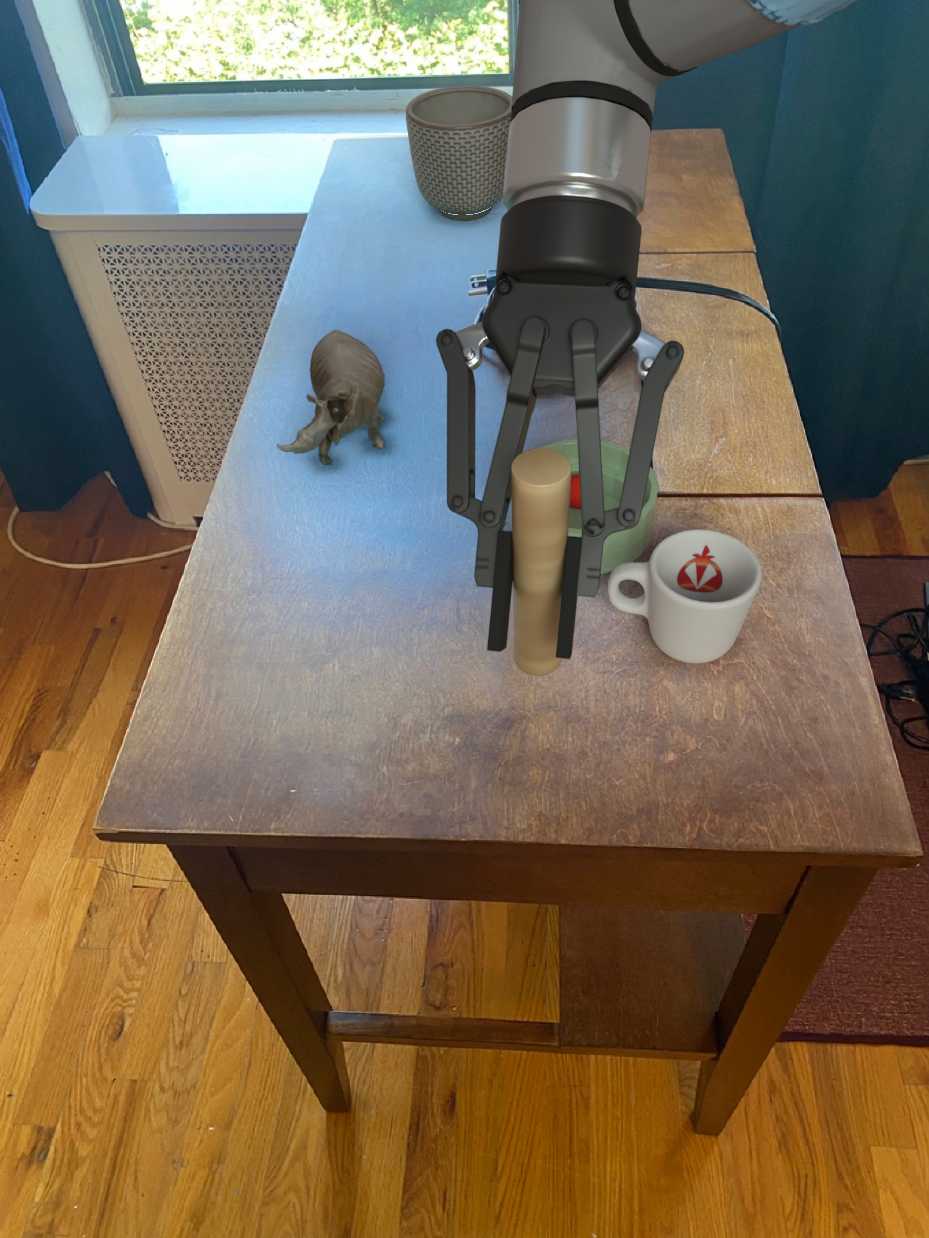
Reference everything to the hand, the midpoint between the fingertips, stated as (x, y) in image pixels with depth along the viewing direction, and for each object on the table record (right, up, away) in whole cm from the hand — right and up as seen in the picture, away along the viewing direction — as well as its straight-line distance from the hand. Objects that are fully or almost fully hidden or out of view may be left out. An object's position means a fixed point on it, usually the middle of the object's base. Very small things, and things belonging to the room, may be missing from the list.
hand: (530, 651), depth 50 cm
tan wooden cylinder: (+1, -1, +6) cm, 6 cm away
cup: (+13, 0, +22) cm, 25 cm away
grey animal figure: (-15, +19, +40) cm, 47 cm away
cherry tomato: (+6, +13, +30) cm, 33 cm away
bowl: (+7, +9, +30) cm, 32 cm away
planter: (-4, +57, +73) cm, 92 cm away
